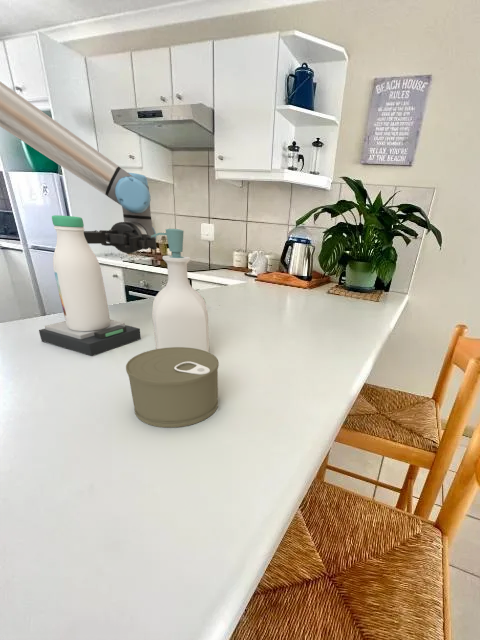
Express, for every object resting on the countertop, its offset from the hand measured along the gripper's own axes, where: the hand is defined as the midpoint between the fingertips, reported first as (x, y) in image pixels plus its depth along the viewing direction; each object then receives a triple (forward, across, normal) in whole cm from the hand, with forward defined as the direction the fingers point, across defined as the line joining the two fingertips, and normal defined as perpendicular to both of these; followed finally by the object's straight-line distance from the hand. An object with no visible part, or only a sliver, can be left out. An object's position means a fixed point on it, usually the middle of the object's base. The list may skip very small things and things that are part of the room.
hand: (97, 242), depth 69 cm
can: (+37, -22, -18) cm, 47 cm away
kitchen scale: (+11, 0, -18) cm, 21 cm away
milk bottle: (+12, 0, -15) cm, 19 cm away
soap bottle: (+17, -20, -18) cm, 32 cm away
